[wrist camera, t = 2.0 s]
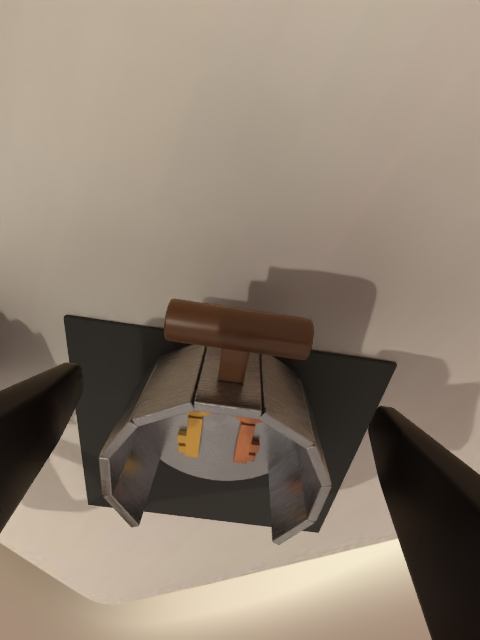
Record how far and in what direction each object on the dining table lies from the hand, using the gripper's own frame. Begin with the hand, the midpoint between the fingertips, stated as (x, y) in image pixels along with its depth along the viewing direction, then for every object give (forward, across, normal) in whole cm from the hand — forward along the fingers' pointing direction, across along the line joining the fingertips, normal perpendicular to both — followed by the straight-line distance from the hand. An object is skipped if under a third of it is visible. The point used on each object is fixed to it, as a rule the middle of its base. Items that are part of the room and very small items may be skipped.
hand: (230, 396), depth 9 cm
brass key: (+7, +2, +8) cm, 10 cm away
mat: (+8, 0, +12) cm, 15 cm away
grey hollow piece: (+7, 0, +6) cm, 10 cm away
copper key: (+7, -2, +8) cm, 11 cm away
